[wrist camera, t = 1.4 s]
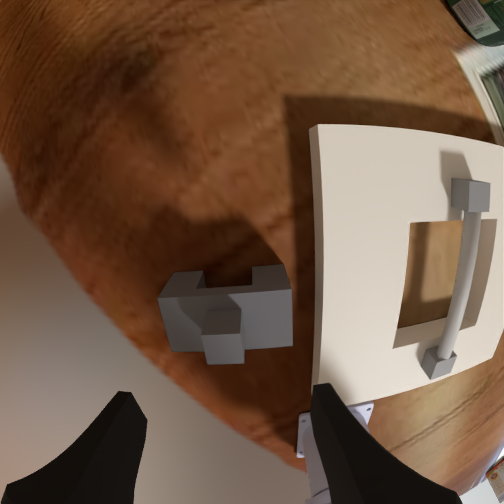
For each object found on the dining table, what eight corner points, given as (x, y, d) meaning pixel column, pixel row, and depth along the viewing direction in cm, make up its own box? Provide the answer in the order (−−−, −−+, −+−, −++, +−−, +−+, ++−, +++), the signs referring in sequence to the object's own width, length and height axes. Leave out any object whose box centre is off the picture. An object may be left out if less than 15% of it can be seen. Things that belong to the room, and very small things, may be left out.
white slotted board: (481, 346, 23) (501, 367, 18) (311, 391, 23) (319, 427, 19) (512, 152, 16) (544, 156, 12) (308, 129, 16) (327, 119, 12)
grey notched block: (285, 313, 20) (298, 371, 14) (183, 320, 21) (162, 376, 14) (283, 264, 19) (298, 311, 13) (173, 272, 19) (143, 320, 13)
